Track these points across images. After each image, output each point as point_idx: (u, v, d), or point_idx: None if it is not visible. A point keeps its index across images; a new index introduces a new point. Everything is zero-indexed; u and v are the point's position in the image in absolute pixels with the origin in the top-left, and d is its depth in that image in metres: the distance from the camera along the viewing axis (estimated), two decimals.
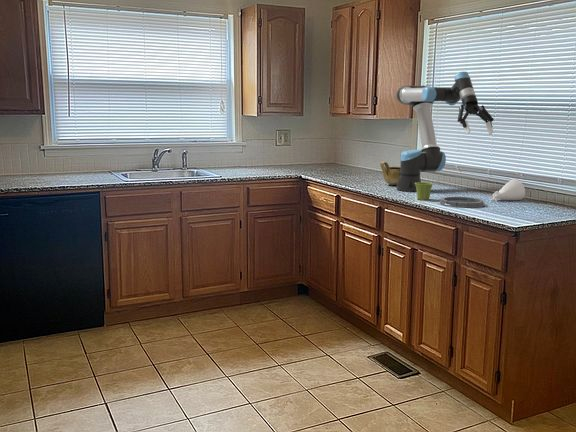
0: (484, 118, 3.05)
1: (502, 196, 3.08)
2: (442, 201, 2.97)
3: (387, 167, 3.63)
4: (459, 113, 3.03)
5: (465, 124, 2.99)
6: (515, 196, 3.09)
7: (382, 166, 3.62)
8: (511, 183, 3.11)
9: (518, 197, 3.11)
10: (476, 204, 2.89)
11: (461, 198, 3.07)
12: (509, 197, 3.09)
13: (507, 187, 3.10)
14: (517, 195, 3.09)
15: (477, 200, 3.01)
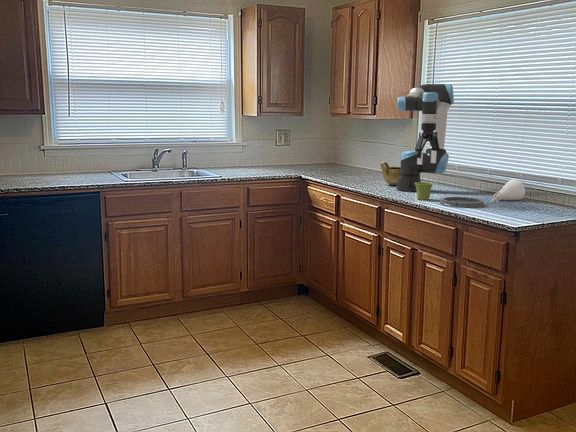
0: (433, 146, 3.12)
1: (503, 196, 3.08)
2: (442, 201, 2.97)
3: (387, 167, 3.63)
4: (418, 141, 3.02)
5: (420, 155, 3.03)
6: (516, 195, 3.09)
7: (382, 166, 3.62)
8: (511, 183, 3.11)
9: (518, 197, 3.11)
10: (476, 204, 2.89)
11: (461, 198, 3.07)
12: (510, 197, 3.09)
13: (508, 187, 3.09)
14: (517, 195, 3.10)
15: (477, 200, 3.01)
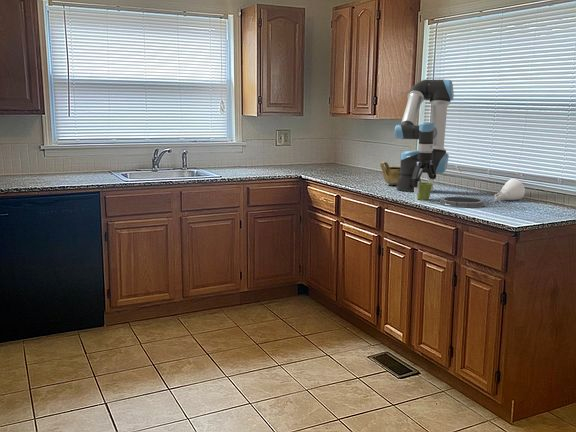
0: (430, 174, 3.15)
1: (504, 196, 3.08)
2: (442, 201, 2.97)
3: (387, 167, 3.63)
4: (415, 170, 3.05)
5: (417, 185, 3.06)
6: (516, 195, 3.10)
7: (382, 166, 3.62)
8: (511, 183, 3.11)
9: (518, 197, 3.11)
10: (476, 204, 2.89)
11: (461, 198, 3.07)
12: (511, 197, 3.09)
13: (508, 187, 3.09)
14: (518, 194, 3.10)
15: (477, 200, 3.01)
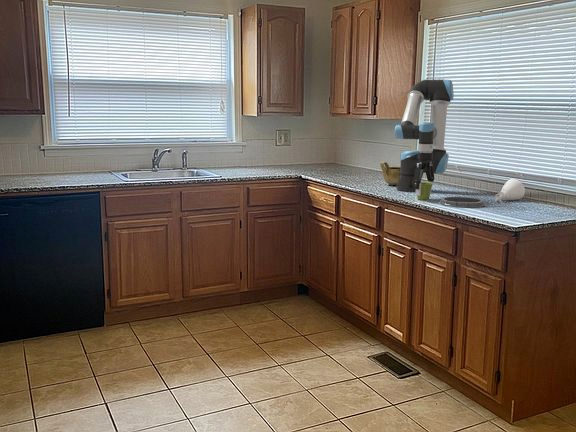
0: (428, 176, 3.14)
1: (505, 196, 3.07)
2: (442, 201, 2.97)
3: (387, 167, 3.63)
4: (416, 172, 3.06)
5: (418, 187, 3.08)
6: (517, 195, 3.10)
7: (382, 166, 3.62)
8: (512, 183, 3.11)
9: (518, 197, 3.12)
10: (476, 204, 2.89)
11: (461, 198, 3.07)
12: (511, 197, 3.09)
13: (509, 187, 3.09)
14: (518, 194, 3.10)
15: (477, 200, 3.01)
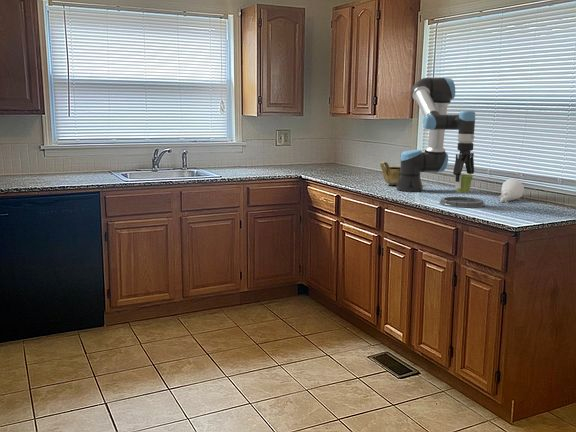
0: (468, 168, 2.98)
1: (509, 197, 3.07)
2: (442, 201, 2.97)
3: (387, 167, 3.63)
4: (456, 164, 2.90)
5: (458, 179, 2.92)
6: (518, 195, 3.11)
7: (382, 166, 3.62)
8: (512, 183, 3.11)
9: (518, 196, 3.13)
10: (476, 204, 2.89)
11: (461, 198, 3.07)
12: (514, 197, 3.09)
13: (511, 187, 3.09)
14: (519, 194, 3.11)
15: (477, 200, 3.01)
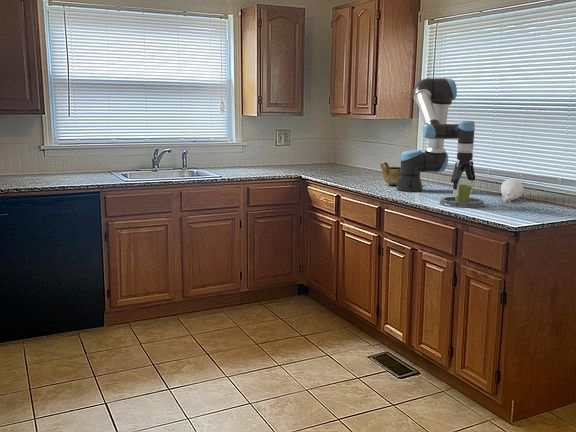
0: (469, 176, 3.00)
1: None
2: (442, 201, 2.97)
3: (387, 167, 3.63)
4: (454, 171, 2.90)
5: (456, 186, 2.91)
6: (518, 195, 3.11)
7: (382, 166, 3.62)
8: (513, 183, 3.11)
9: (518, 196, 3.13)
10: (476, 204, 2.89)
11: None
12: (515, 197, 3.09)
13: (512, 187, 3.09)
14: (519, 194, 3.12)
15: (477, 200, 3.01)
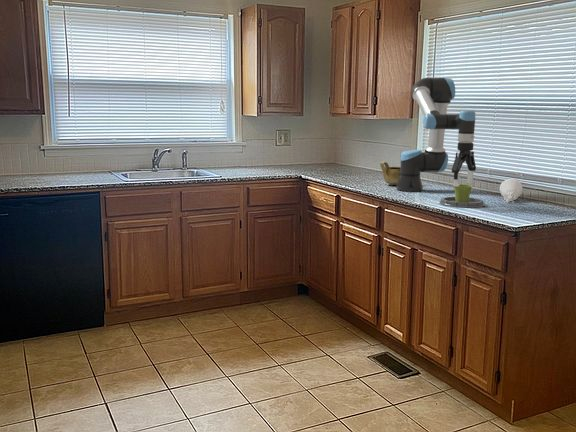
0: (469, 166, 2.99)
1: None
2: (442, 201, 2.97)
3: (387, 167, 3.63)
4: (455, 162, 2.89)
5: (457, 177, 2.90)
6: (519, 195, 3.12)
7: (382, 166, 3.62)
8: (513, 183, 3.11)
9: (518, 196, 3.14)
10: (476, 204, 2.89)
11: None
12: (516, 197, 3.09)
13: (514, 187, 3.09)
14: (519, 194, 3.12)
15: (477, 200, 3.01)
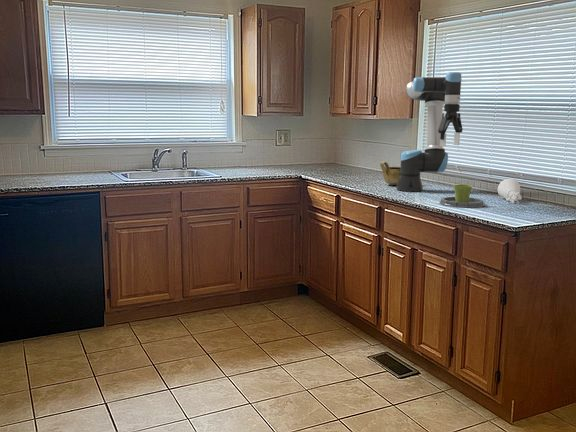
0: (456, 128, 3.06)
1: None
2: (442, 201, 2.97)
3: (387, 167, 3.63)
4: (442, 122, 2.96)
5: (443, 137, 2.97)
6: None
7: (382, 166, 3.62)
8: (513, 183, 3.12)
9: None
10: (476, 204, 2.89)
11: None
12: None
13: (515, 187, 3.09)
14: None
15: (477, 200, 3.01)
